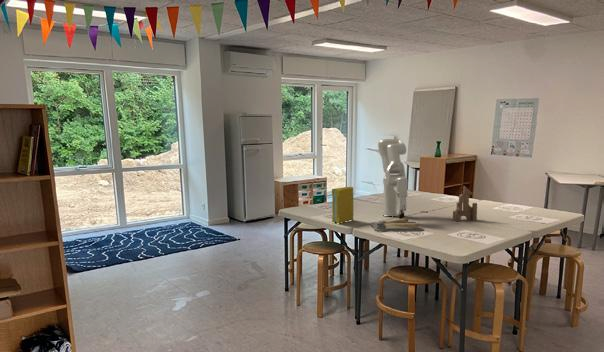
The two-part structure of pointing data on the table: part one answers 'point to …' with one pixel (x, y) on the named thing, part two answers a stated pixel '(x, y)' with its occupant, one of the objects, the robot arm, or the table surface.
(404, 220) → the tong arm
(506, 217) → the table surface
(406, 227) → the tongs fixed
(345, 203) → the book
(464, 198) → the wooden toy
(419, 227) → the mat
